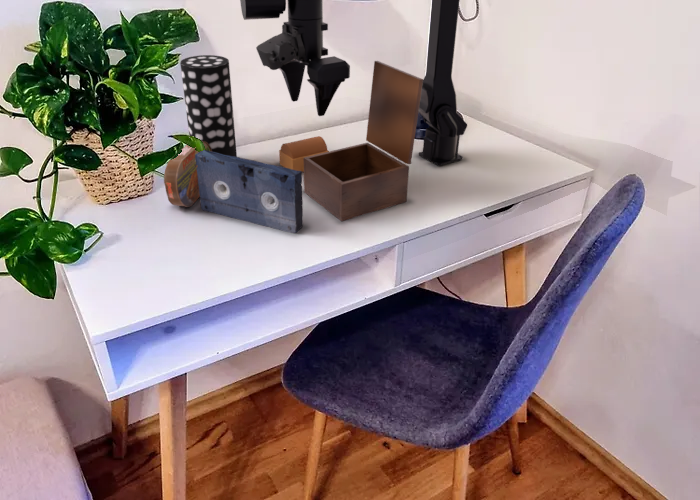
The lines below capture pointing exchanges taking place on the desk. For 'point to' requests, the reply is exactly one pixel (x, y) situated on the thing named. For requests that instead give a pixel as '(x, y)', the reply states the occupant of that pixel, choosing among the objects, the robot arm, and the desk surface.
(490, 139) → the desk surface
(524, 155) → the desk surface
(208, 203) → the vhs cassette tape
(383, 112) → the bin lid
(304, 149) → the bread
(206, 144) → the tin
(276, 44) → the robot arm
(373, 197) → the bread box
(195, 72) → the white-spotted black cylinder
